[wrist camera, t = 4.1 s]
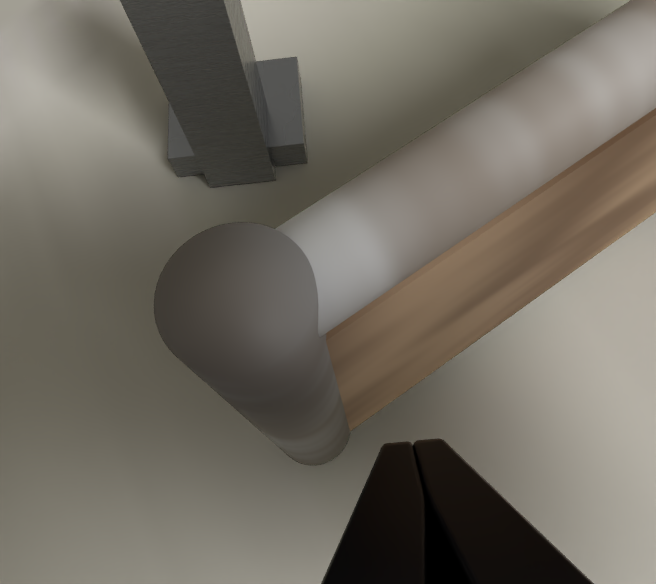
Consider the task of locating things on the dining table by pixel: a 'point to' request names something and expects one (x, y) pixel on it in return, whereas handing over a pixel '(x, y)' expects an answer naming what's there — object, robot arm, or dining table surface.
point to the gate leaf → (422, 244)
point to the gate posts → (220, 91)
